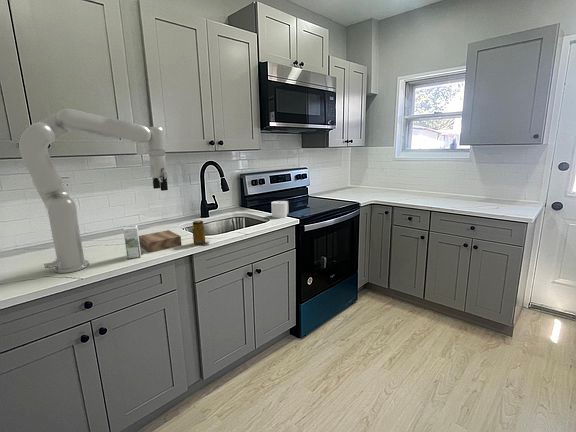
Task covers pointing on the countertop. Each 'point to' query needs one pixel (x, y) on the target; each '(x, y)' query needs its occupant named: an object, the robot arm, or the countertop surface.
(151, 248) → the block
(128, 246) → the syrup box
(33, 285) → the countertop surface
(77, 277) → the countertop surface
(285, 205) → the toilet tissue
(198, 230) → the condiment
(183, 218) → the countertop surface
